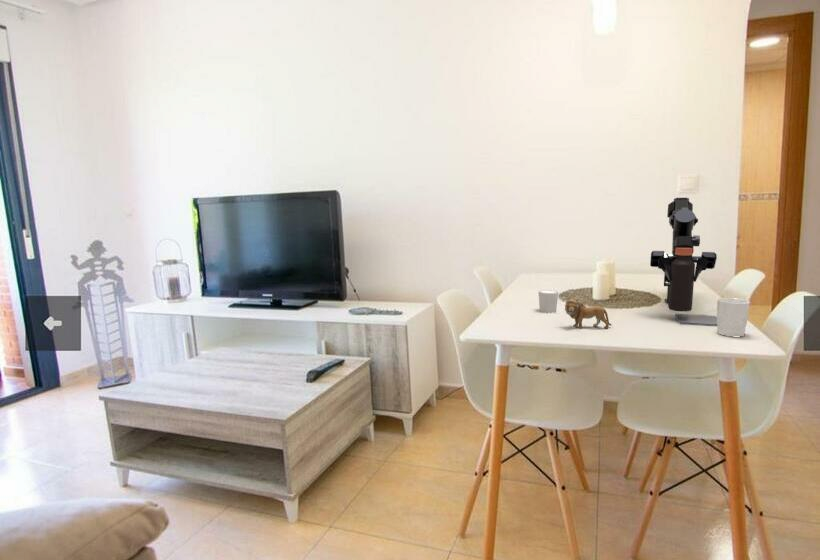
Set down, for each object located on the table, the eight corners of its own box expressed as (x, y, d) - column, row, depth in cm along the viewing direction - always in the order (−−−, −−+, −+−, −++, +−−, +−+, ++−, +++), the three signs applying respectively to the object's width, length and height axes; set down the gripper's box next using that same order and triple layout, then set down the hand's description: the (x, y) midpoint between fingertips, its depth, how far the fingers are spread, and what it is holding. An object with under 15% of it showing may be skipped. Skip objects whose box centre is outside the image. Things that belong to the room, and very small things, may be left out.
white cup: (715, 336, 146) (718, 302, 144) (714, 329, 153) (716, 297, 151) (748, 339, 142) (751, 304, 140) (745, 332, 149) (748, 299, 147)
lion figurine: (567, 330, 155) (568, 301, 154) (561, 325, 160) (562, 298, 159) (615, 329, 155) (616, 300, 154) (607, 324, 161) (609, 296, 159)
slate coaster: (674, 315, 171) (674, 313, 171) (715, 317, 167) (715, 315, 167) (679, 323, 160) (679, 322, 160) (723, 326, 156) (723, 324, 155)
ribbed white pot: (538, 312, 179) (538, 293, 178) (537, 308, 185) (538, 289, 184) (558, 313, 177) (558, 293, 176) (557, 309, 184) (558, 290, 183)
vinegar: (663, 307, 167) (667, 247, 164) (682, 306, 168) (687, 246, 164) (676, 312, 160) (680, 249, 157) (696, 311, 161) (701, 248, 158)
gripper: (652, 226, 167) (651, 264, 159) (718, 226, 159) (720, 266, 151) (650, 247, 175) (649, 284, 167) (713, 248, 168) (714, 287, 160)
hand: (682, 280), depth 161 cm, fingers closed on vinegar, 7 cm apart
